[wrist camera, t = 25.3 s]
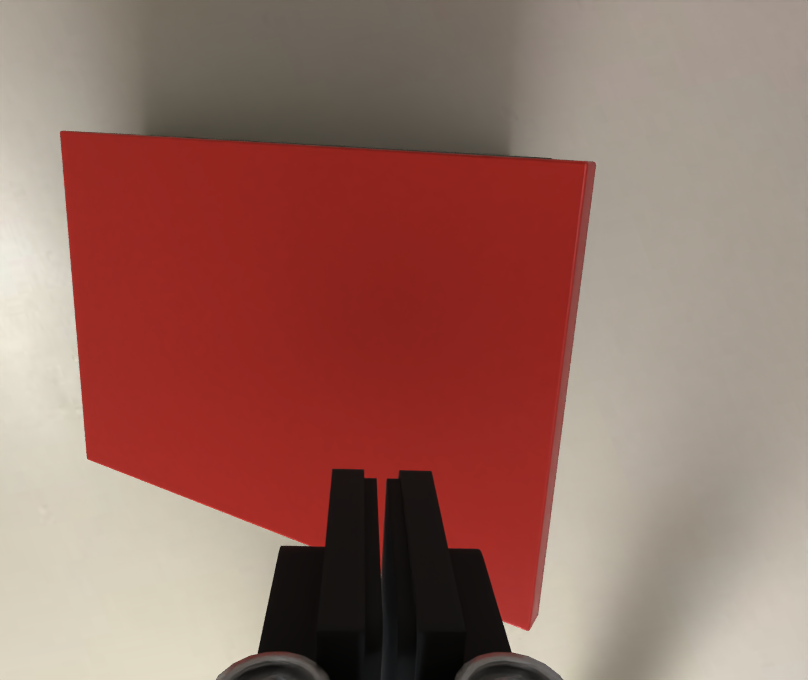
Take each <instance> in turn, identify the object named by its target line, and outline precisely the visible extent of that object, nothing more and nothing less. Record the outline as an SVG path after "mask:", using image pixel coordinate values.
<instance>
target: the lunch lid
mask: <svg viewBox="0 0 808 680" xmlns="http://www.w3.org/2000/svg"><path fill="white" fill-rule="evenodd" d="M60 138H61V150H62V162H63V175H64V187H65V199H66V211H67V223H68V235H69V247H70V259H71V271H72V283H73V295H74V308H75V320H76V332H77V344H78V356H79V368H80V380H81V392H82V404H83V416H84V429H85V441H86V453H87V459H88V460H91V461H93V462H96V463H99V464H101V465H104V466H106V467H109V468H111V469H114V470H117V471H119V472H122V473H124V474H127V475H129V476H132V477H134V478H137V479H140V480H142V481H145V482H147V483H150V484H152V485H155V486H157V487H160V488H163V489H165V490H168V491H170V492H173V493H175V494H178V495H181V496H183V497H186V498H188V499H191V500H193V501H196V502H198V503H201V504H204V505H206V506H209V507H211V508H214V509H216V510H219V511H222V512H224V513H227V514H229V515H232V516H234V517H237V518H239V519H242V520H245V521H247V522H250V523H252V524H255V525H257V526H260V527H262V528H265V529H268V530H270V531H273V532H275V533H278V534H280V535H283V536H286V537H288V538H291V539H293V540H296V541H298V542H301V543H303V544H306V545H309V546H325V541H326V530H327V520H328V509H329V498H330V488H331V477H332V469H364V478H377V495H378V519H379V542H380V565H381V571H382V552H383V532H384V513H385V494H386V480H387V478H395V479H398V475H399V470H418V471H432V475H433V479H434V484H435V489H436V493H437V498H438V503H439V507H440V512H441V517H442V521H443V526H444V531H445V535H446V540H447V545H448V548H471V549H480V550H481V552H482V555H483V558H484V561H485V564H486V568H487V571H488V575H489V578H490V581H491V585H492V588H493V591H494V595H495V598H496V602H497V605H498V608H499V612H500V615H501V618H502V621H503V622H506V623H508V624H511V625H513V626H516V627H518V628H521V629H524V630H526V631H529V630H530V628H531V627H532V625H533V623H534V621H535V619H536V618H537V616H538V611H539V603H540V596H541V588H542V580H543V572H544V565H545V557H546V549H547V541H548V534H549V526H550V518H551V510H552V503H553V495H554V487H555V479H556V472H557V464H558V456H559V448H560V440H561V433H562V425H563V417H564V409H565V402H566V394H567V386H568V378H569V371H570V363H571V355H572V347H573V340H574V332H575V324H576V316H577V309H578V301H579V293H580V285H581V277H582V270H583V262H584V254H585V246H586V239H587V231H588V223H589V215H590V208H591V200H592V192H593V184H594V177H595V169H596V164H595V162H591V161H574V160H557V159H540V158H523V157H506V156H489V155H471V154H454V153H437V152H420V151H403V150H386V149H369V148H351V147H334V146H317V145H300V144H283V143H266V142H249V141H231V140H214V139H197V138H180V137H163V136H146V135H129V134H111V133H94V132H77V131H61V132H60Z"/></svg>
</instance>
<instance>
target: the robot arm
mask: <svg viewBox="0 0 808 680" xmlns="http://www.w3.org/2000/svg"><path fill="white" fill-rule="evenodd" d="M216 680H563V679H562V678H561V676H560V675H559V674H557V673H556V672H555V671H554V670H552V669H551V668H550V667H548V666H547V665H546V664H544V663H542V662H540V661H537V660H535V659H533V658H531V657H529V656H525V655H521V654H516V653H512V652H511V649H510V645H509V642H508V639H507V635H506V632H505V629H504V625H503V622H502V618H501V615H500V612H499V608H498V605H497V602H496V598H495V595H494V591H493V588H492V585H491V581H490V578H489V575H488V571H487V568H486V564H485V561H484V558H483V555H482V552H481V550H480V549H471V548H448V545H447V540H446V535H445V531H444V526H443V521H442V517H441V512H440V507H439V503H438V498H437V493H436V489H435V484H434V479H433V475H432V471H418V470H399V475H398V479H395V478H387V480H386V494H385V513H384V532H383V552H382V571H381V565H380V542H379V519H378V495H377V478H364V469H332V477H331V488H330V498H329V509H328V520H327V530H326V541H325V546H281V547H280V550H279V553H278V558H277V563H276V568H275V573H274V577H273V582H272V587H271V592H270V597H269V602H268V606H267V611H266V616H265V621H264V626H263V630H262V635H261V640H260V645H259V650H258V654H255V655H251V656H248V657H246V658H244V659H242V660H240V661H238V662H236V663H234V664H232V665H231V666H230V667H228V668H227V669H226V670H225V671H223V672H222V673H221V674H220V675H219V676H218V677H217V679H216Z"/></svg>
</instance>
